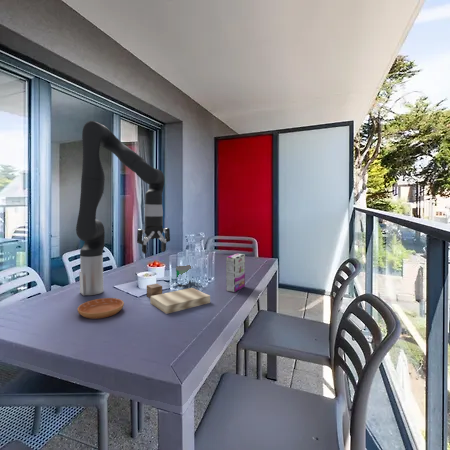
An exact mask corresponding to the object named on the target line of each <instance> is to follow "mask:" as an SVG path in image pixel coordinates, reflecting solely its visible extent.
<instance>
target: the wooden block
mask: <svg viewBox="0 0 450 450" xmlns="http://www.w3.org/2000/svg"><path fill="white" fill-rule="evenodd" d="M149 299H150V305H152V306H153V307H155V308H157V309H158V310H160V311H162V313H165V314H166V315H167V314H171V313H175V312H179V311H180V312H181V311H183V310H188V309H191V308H195V307H199V306H203V305H207V304H210V303H211V295H210V294H207V293H205V292H202V291H200V290H199V289H196V288H194V287H190V288H189V287H188V288H183V289H180V290H173V291H170V292H165V293H162V294H159V295H154V296H150V298H149Z"/></svg>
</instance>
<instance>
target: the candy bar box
mask: <svg viewBox="0 0 450 450" xmlns="http://www.w3.org/2000/svg"><path fill="white" fill-rule="evenodd" d="M225 261H226V263H225V267H226V269H225V272H226V274H225V276H226V279H225V284H226V286H225V288H226V289H225V291H226V292H230V293H231V292H232V293H236V292H238V291H239V290H241V289H243V288H245V287H246V254H245V253H235V254H231V255H229V256H226V257H225Z"/></svg>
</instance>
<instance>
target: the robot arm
mask: <svg viewBox="0 0 450 450" xmlns="http://www.w3.org/2000/svg"><path fill="white" fill-rule="evenodd" d="M81 135H82V136H81V138H82V139H81V140H82V164H81V165H82V168H81V179H80V196H79V197H80V199H79V210H78V215H77V221H76V226H75V231H76V236H77V237H78V239H79V240H81V241H83V242H84V244H83V246H82V247H81V248H80V250H79V257H80V259H79V260H80V271H79V273H78V274H79V293H80V294H81V295H82V296H83V297H84V296H94V295H95V296H96V295H100V294H102V293H104V261H103V260H104V258H103V257H104V249H105V241H106V239H105V234H106V232H105V226H104V224H103V223H102V221H100V220H99V219H96V218H97V209H98V207H99V204H100V201H101V199H102V197H103V195H104V191H105V181H106V179H105V178H106V176H105V171H104V168H103V165H102V163H101V157H100V149H101V147H102V148H103V149H106V150H107V151H109V152H111V153H112V154H114V155H115V156H116V158H118V160H119V161H120V162H121V163H122V164H123V165H124V166H125V167H126V168H128V169H129V170H131V171H132V172H134V173H135V174H136V176H137V177H138V178H139V179H140V180H142V181H143V182H144V183H145V184H148V190H147V191H145V196H144V200H145V201H144V203H145V204H144V205H145V206H144V229H140V228H138V229H137V238H136V242H137V244H138V245H139V244H140V245H141V253H143V255H146V254H147V251H148V250H147V246H148V245H147V243H148V242H149V241H150V240H156V239H157V240H158V239H159V240H160V242H161V247H160V249H161V251H160V252H163V253H164V252H166V250H167V243H168V242H170V241H171V233H170V232H171V231H170V229H171V228H169V227H165V228H163V225H164V221H163V220H164V216H163V215H164V211H163V192H164V187H165V175H164V172H163V171H162V170H160V169H159V168H154V167H153V166H152V165H150V164H149V163H147V161H146V160H145V159H144V158H143V157H142V156H141V155H139V154H138V153H137V152H136V151H134V150H133V149H131V148H130V147H129V146H127V145H125V143H123V142H122V141H121V140H120V139H119V138H118V137H117V136H116V135H115V134H114V133H113V132H112V131H111V130H110V129H109V128H108V127H107V126H106V125H104V124H102V123H99V121H98V122H97V121H95V120H88V121H87V122H85V124H84V125H83V127H82V132H81ZM163 233H164V235H163ZM144 234H145V235H144ZM143 235H144V237H143Z"/></svg>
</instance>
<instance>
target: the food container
mask: <svg viewBox="0 0 450 450" xmlns="http://www.w3.org/2000/svg"><path fill="white" fill-rule="evenodd" d="M189 269H191V270H192V268H191V266H190V265H187V266H180V265H176V266H175V272H176V273H175V274H176V278H177V277H178V275H179V274H181V275H182V274H183V273H185V272H187V271H188V270H189Z"/></svg>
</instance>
